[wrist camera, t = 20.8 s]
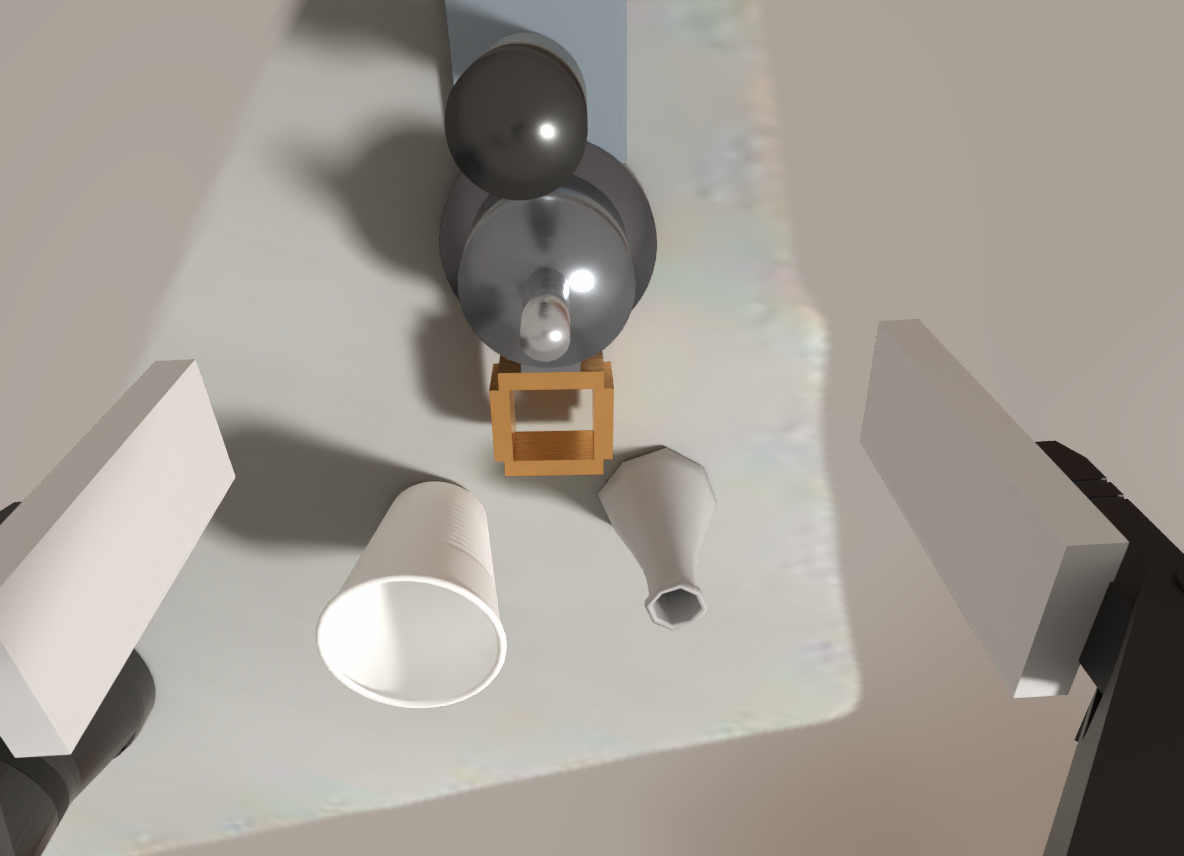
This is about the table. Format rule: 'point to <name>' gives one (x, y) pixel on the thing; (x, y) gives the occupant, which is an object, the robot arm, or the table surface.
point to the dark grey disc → (592, 168)
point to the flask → (663, 529)
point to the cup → (418, 605)
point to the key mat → (579, 24)
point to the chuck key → (519, 118)
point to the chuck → (549, 316)
